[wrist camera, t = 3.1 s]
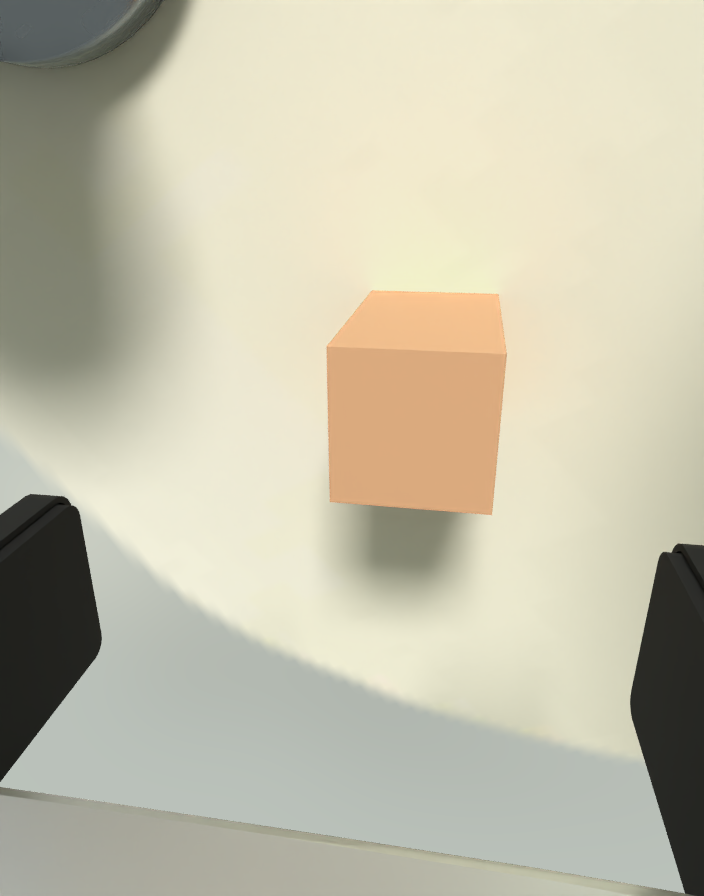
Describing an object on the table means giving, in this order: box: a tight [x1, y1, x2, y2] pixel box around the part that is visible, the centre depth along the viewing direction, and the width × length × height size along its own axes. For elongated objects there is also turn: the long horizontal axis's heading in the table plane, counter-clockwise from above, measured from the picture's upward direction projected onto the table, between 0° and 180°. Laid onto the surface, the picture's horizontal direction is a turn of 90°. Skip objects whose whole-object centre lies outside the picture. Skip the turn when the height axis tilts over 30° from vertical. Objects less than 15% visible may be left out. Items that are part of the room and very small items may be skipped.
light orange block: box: [327, 291, 507, 515], centre depth 19 cm, size 4×4×7 cm
